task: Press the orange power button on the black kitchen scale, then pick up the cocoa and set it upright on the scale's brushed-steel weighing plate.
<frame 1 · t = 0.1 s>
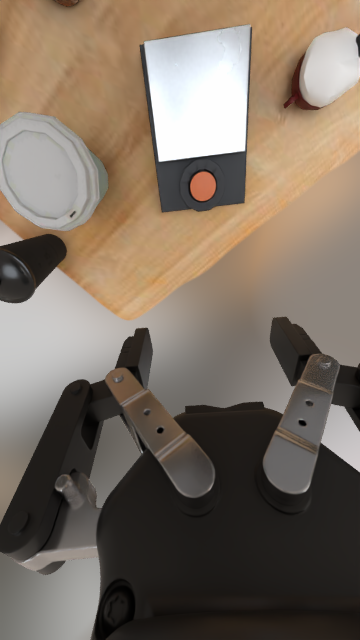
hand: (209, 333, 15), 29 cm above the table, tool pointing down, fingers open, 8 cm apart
power button: (202, 186, 33), point 3 cm above the table, slide at 0.1 cm
disposable coffee cup: (89, 176, 35), on the table
scale: (198, 136, 32), on the table
cocoa: (313, 81, 29), on the table
drinking cup: (53, 247, 41), on the table
weighing plate: (198, 102, 28), resting on scale
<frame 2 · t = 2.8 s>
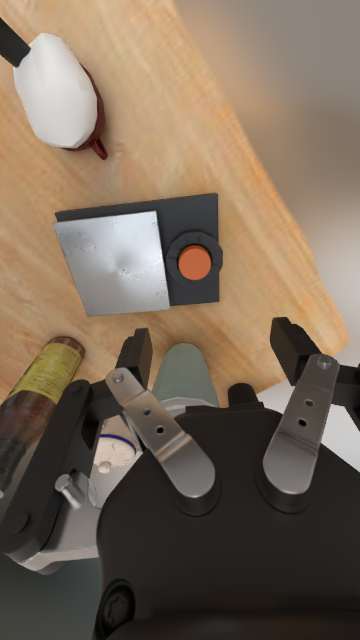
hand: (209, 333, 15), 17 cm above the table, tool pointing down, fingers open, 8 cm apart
power button: (194, 262, 26), point 3 cm above the table, slide at 0.1 cm
disposable coffee cup: (182, 355, 38), on the table
teacup with lid: (118, 401, 45), on the table
scale: (146, 258, 29), on the table
sauce bottle: (67, 349, 38), on the table
cocoa: (76, 107, 22), on the table
drinking cup: (240, 391, 43), on the table
weighing plate: (118, 269, 27), resting on scale
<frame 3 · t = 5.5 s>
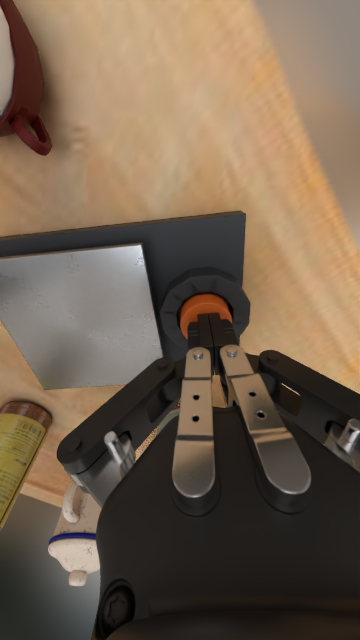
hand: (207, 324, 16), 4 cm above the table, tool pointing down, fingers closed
power button: (205, 319, 17), point 3 cm above the table, slide at -0.1 cm, touching gripper
teacup with lid: (101, 467, 35), on the table
scale: (132, 305, 20), on the table
sauce bottle: (29, 413, 28), on the table
weighing plate: (85, 327, 17), resting on scale
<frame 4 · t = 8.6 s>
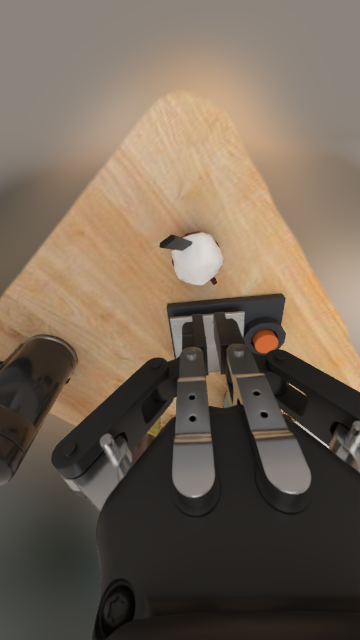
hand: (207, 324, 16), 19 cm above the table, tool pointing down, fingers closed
power button: (265, 341, 36), point 3 cm above the table, slide at 0.1 cm
scale: (223, 331, 40), on the table
sauce bottle: (147, 390, 48), on the table
cocoa: (194, 246, 32), on the table
weighing plate: (208, 344, 37), resting on scale
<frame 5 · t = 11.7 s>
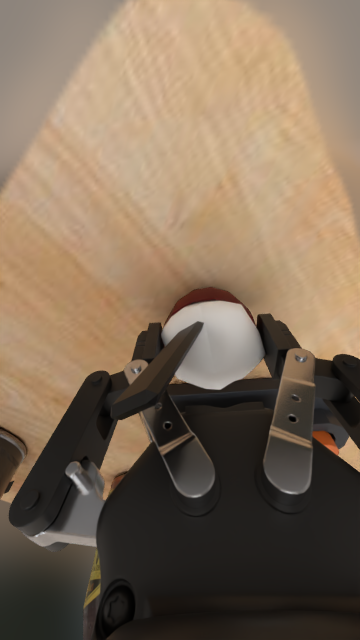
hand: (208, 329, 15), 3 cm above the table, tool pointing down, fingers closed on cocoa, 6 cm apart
power button: (315, 447, 23), point 3 cm above the table, slide at 0.1 cm
scale: (245, 419, 26), on the table
sauce bottle: (133, 479, 34), on the table
cocoa: (203, 306, 18), on the table, touching gripper
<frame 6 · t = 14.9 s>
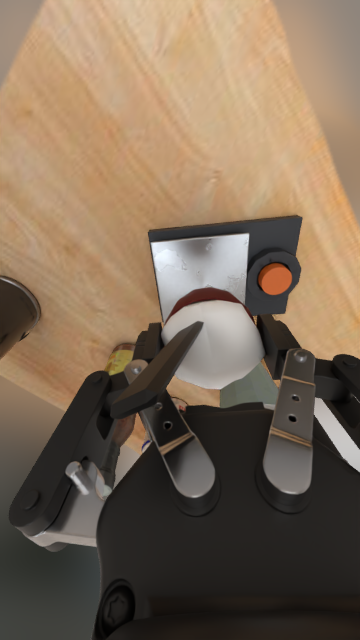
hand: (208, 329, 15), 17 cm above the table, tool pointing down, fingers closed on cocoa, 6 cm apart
power button: (274, 279, 28), point 3 cm above the table, slide at 0.1 cm
disposable coffee cup: (238, 361, 41), on the table
scale: (221, 273, 31), on the table
sauce bottle: (129, 355, 40), on the table
cocoa: (203, 305, 18), point 14 cm above the table, touching gripper
drinking cup: (286, 395, 45), on the table
weighing plate: (201, 283, 29), resting on scale
when the fingers open (7 cm above the table, at t = 18.2 s): cocoa stays where it is, resting on weighing plate.
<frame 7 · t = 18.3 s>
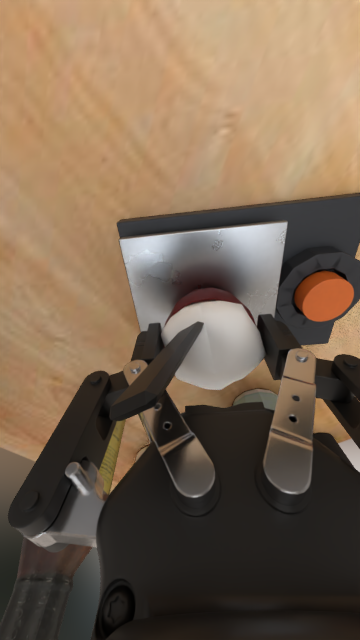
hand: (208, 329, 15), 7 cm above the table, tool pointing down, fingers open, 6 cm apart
power button: (322, 296, 17), point 3 cm above the table, slide at 0.1 cm
disposable coffee cup: (254, 401, 30), on the table
scale: (234, 285, 21), on the table
sauce bottle: (106, 395, 29), on the table
cocoa: (203, 306, 18), point 3 cm above the table, touching weighing plate
drinking cup: (316, 440, 35), on the table
weighing plate: (204, 304, 18), resting on scale
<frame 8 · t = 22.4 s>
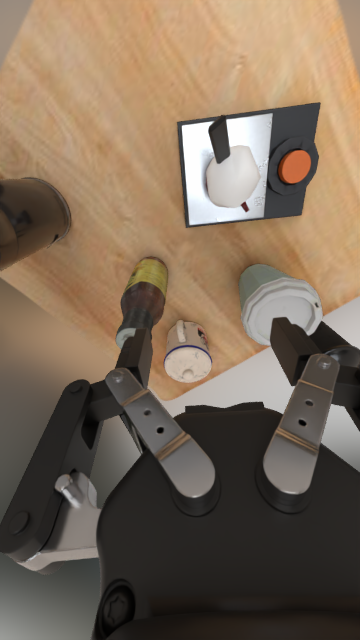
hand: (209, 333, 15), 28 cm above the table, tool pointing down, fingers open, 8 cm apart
power button: (294, 167, 30), point 3 cm above the table, slide at 0.1 cm
disposable coffee cup: (254, 278, 43), on the table
teacup with lid: (185, 331, 50), on the table
scale: (242, 172, 34), on the table
sauce bottle: (152, 272, 42), on the table
cocoa: (225, 174, 31), point 3 cm above the table, touching weighing plate
drinking cup: (299, 318, 48), on the table
weighing plate: (225, 175, 31), resting on scale
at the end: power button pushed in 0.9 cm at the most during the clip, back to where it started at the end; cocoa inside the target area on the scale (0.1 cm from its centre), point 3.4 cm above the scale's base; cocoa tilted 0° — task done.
